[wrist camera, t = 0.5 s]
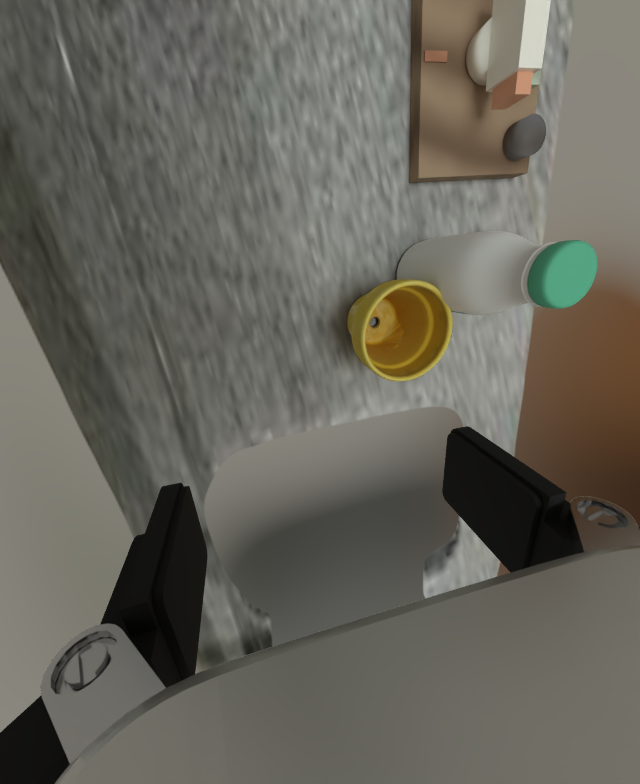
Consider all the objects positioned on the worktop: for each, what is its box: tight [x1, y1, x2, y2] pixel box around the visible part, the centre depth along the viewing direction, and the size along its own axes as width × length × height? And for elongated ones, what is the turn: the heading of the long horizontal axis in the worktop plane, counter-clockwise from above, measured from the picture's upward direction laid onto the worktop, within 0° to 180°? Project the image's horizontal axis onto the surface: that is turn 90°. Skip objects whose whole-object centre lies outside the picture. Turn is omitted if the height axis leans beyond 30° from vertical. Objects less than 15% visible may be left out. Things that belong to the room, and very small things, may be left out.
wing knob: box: [466, 0, 551, 110], centre depth 29 cm, size 9×4×6 cm, turn 5°
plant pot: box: [347, 279, 453, 381], centre depth 36 cm, size 10×10×10 cm
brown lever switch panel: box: [409, 0, 546, 183], centre depth 32 cm, size 20×14×4 cm
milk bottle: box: [397, 231, 597, 315], centre depth 31 cm, size 8×8×20 cm
